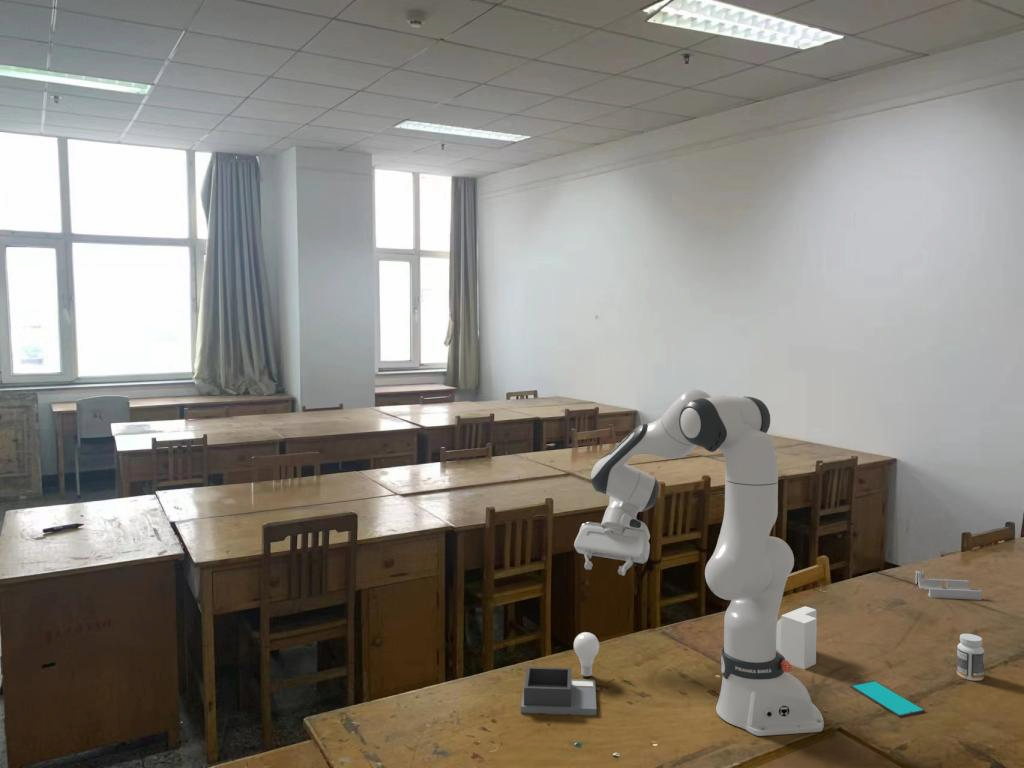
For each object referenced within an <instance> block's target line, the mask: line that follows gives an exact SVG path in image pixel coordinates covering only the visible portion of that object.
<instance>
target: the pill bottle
mask: <svg viewBox="0 0 1024 768" xmlns="http://www.w3.org/2000/svg"><path fill="white" fill-rule="evenodd" d="M959 641H960V642H959V643H958V644H957V647H956V648H957V649H956V650H957V651H956V656H957V657H956V674H957V675H958V676H959V677H961V678H962V679H964V680H968V681H974V682H977V681H978V682H980V681H982V680H983V679H984V677H985V650H984V647H983V646H982V645H983V638H982V637H981V636H979V635H976V634H974V633H973V634H972V633H961V634H960V635H959Z"/></svg>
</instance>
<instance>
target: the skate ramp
mask: <svg viewBox="0 0 1024 768" xmlns="http://www.w3.org/2000/svg"><path fill="white" fill-rule="evenodd" d="M943 581H944V582H946V587H943V585H942V582H943ZM917 583H918V584H917ZM916 584H917V586H919V587H918V588H919V589H921V588H924V589H923V590H928V593H927V596H928V597H929V598H935V599H952V600H953V599H954V600H956V599H957V600H976V601H977V600H979V601H982V600H983V590H982V589H981V588H979V589H978V590H977V589H972V588H970V581H969V578H968V579H967V578H966V579H950V577H947V576H946V577H945V578H937V576H934V578H926V577H925V575H924V571H923V570H922V569H920V570H919V569H916V570H915V585H916Z"/></svg>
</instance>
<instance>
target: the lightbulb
mask: <svg viewBox="0 0 1024 768" xmlns="http://www.w3.org/2000/svg"><path fill="white" fill-rule="evenodd" d="M573 650H574V652H575V654H576V655H577V657H578V659H579V663H580V666H581V669H580V670H581V671H580V673H581V676H584V677H586V678H588V677H590V676H592V675H593V672H592V671H593V664H594V659H595V657H596V656H597V655H598V653H599V650H600V643H599V639H598V638H597V637H596V635H595V634H593V633H591V632H587V631H584V632H581V633H579V634H578V635H576V637H575V638H574V641H573Z"/></svg>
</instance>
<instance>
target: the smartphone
mask: <svg viewBox="0 0 1024 768" xmlns="http://www.w3.org/2000/svg"><path fill="white" fill-rule="evenodd" d="M849 686H850V688H851V689H852V690H853V691H855V692H857V693H859V694H860V695H863V697H865V698H866V699H867V698H868V700H871V701H872V702H873V703H875V704H876V705H877V706H880V707H881V708H883V709H885V710H886V711H888V712H889V713H891V714H893V715H895V716H896V717H898V718H903V717H909V716H914V715H919V714H923V713H925V709H924V708H922V707H921V706H919V705H917V704H916V703H913V702H912V701H910V700H908V699H907V698H905V697H904V696H901V695H900V694H899V693H897V692H895V691H893V690H892V689H890V688H888V687H886V686H884V685H883V684H881V683H880V682H877V681H876V680H870V681H865V682H860V683H855V684H850V685H849Z"/></svg>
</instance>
